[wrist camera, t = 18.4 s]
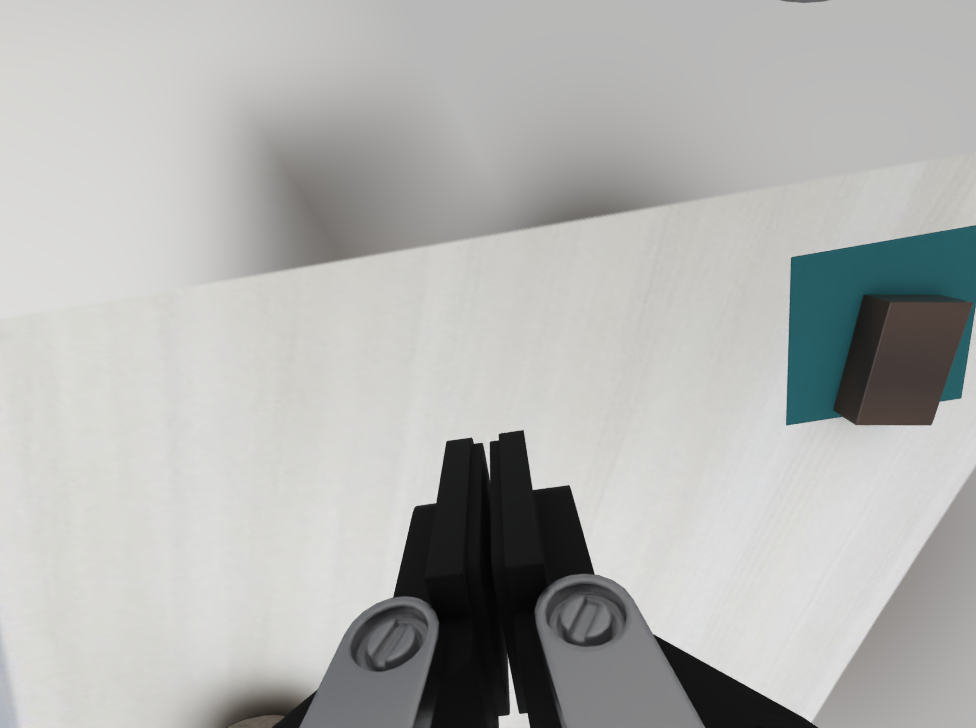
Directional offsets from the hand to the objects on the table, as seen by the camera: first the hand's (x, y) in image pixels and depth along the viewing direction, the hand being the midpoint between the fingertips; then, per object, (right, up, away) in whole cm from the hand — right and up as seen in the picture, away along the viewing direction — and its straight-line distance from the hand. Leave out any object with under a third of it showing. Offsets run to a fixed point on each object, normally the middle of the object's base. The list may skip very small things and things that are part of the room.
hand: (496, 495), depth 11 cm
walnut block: (+29, +4, +25) cm, 39 cm away
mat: (+28, +5, +25) cm, 38 cm away
